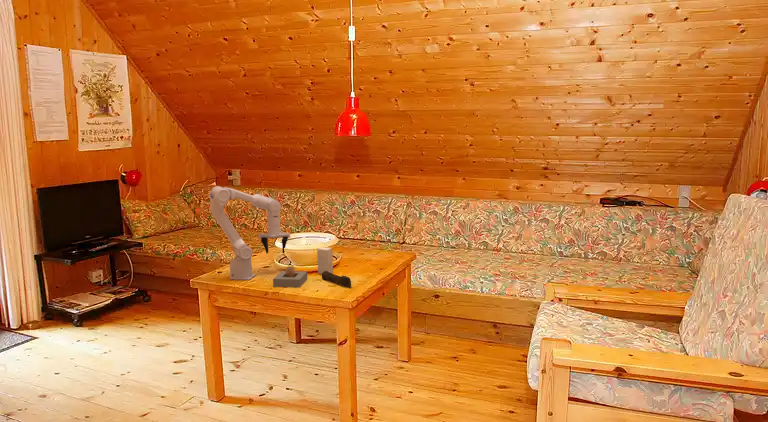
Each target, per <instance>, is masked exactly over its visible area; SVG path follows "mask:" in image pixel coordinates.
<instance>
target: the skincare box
mask: <svg viewBox="0 0 768 422" xmlns="http://www.w3.org/2000/svg"><path fill="white" fill-rule="evenodd" d="M316 254H317V256H316V257H317V258H316V259H317V274H321V275H322V273H323V272H324V271H328V272H329V273H332V274H334V266H333V263H334V261H333V260H334V259H333V248H332V247H324V246H320V247H318V248H316Z"/></svg>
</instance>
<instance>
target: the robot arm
mask: <svg viewBox="0 0 768 422" xmlns="http://www.w3.org/2000/svg"><path fill="white" fill-rule="evenodd" d="M208 197H209V211H210V213H211V214H212V216H213V218H214V219H215V221H216V222H217V224H218V225H219V226H220V228H221V230H222V231H223V233H224V234H225V236H226V238H227V239H228V241H229V242H230V245H231V247H232V250H233V254H234V255H235V257H234V258H232V259H230V262H229V275H230V276H229V280H243V281H245V280H247V281H248V280H251V279H252V278H254V277H255V276H256V273H253V264H252V256H253V250H252V248H251V247H250V246H248V244H246V242H245V241H244V240H243V239H242V237H241V236H240V234H239V232H238V231H237V230H236V227H234V226H233V224H232V221H230V219H229V217H228V216H227V214H226V213H225V211H224V209H225V206H226V205H227V203H228V202H229V200H234V199H239V200H242V201H246V202H249V203H250V204H251V205H252V206H253V207H256V208H259V209H262V210H266V211H267V212H266V214H267V215H266V216H267V232H264V233H259V234H258V239H259V240H260V242H261V243H262V245H263V247H264V250H265V253H266V254H269V239H276V238H277V239H280V238H281V244H282V247H281V248H282V254H285V251H286V250H285V251H284V248H285V249H286V245H287V242H288V240H289V239H290V238H291V232H281V216H280V215H281V214H280V211H281V209H282V205H281V203H280V201H279V200H276V199H274V198H272V197H271V196H265V195H263V194H262V193H255V194H253V195H251V194H249V193H246V192H243V191H240V190H237V189H235V188H231V187H225V186H223V187H222V186H220V185H216V186H214V187H212V189H211V190H210V193H209V196H208Z"/></svg>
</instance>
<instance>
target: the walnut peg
mask: <svg viewBox="0 0 768 422" xmlns="http://www.w3.org/2000/svg"><path fill="white" fill-rule="evenodd" d="M284 268H285V270H284V271H286V277H295V271H296V270H295V269H296V268H295V266H290V265H289V266H286V267H284Z"/></svg>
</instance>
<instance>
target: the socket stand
mask: <svg viewBox="0 0 768 422" xmlns="http://www.w3.org/2000/svg"><path fill="white" fill-rule="evenodd" d="M307 280H308V271H298V270H297V271H296V270H295V277H286V270H281V271H280V272H278V273H277V274H276V276H274V277H273V278H272V284H273V285H272V286H273V287H275V288H301V287H302V286H303V285H304V284H305V283H306V281H307Z"/></svg>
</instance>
